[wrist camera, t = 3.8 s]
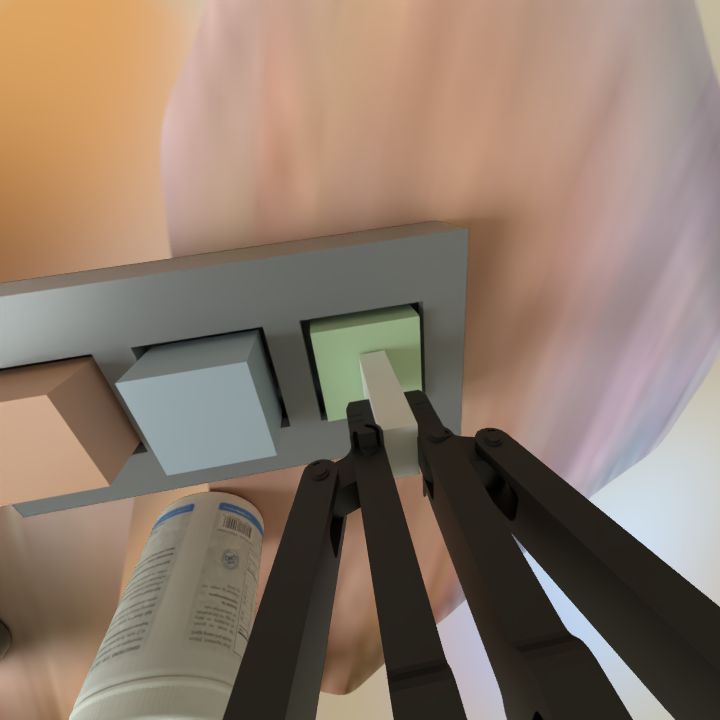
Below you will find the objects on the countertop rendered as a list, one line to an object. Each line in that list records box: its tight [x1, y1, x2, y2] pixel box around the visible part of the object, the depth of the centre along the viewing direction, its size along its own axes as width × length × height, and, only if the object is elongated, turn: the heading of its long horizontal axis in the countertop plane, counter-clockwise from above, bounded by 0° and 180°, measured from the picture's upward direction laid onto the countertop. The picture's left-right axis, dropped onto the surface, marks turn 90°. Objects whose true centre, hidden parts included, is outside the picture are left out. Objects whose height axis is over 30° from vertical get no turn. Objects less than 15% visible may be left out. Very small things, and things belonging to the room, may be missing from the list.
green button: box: [310, 303, 422, 422], centre depth 21 cm, size 6×6×4 cm
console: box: [0, 221, 469, 517], centre depth 21 cm, size 30×14×5 cm, turn 96°
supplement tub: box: [69, 492, 264, 720], centre depth 25 cm, size 10×10×15 cm
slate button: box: [115, 330, 282, 476], centre depth 18 cm, size 6×6×4 cm
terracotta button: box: [0, 356, 141, 506], centre depth 18 cm, size 6×6×4 cm
